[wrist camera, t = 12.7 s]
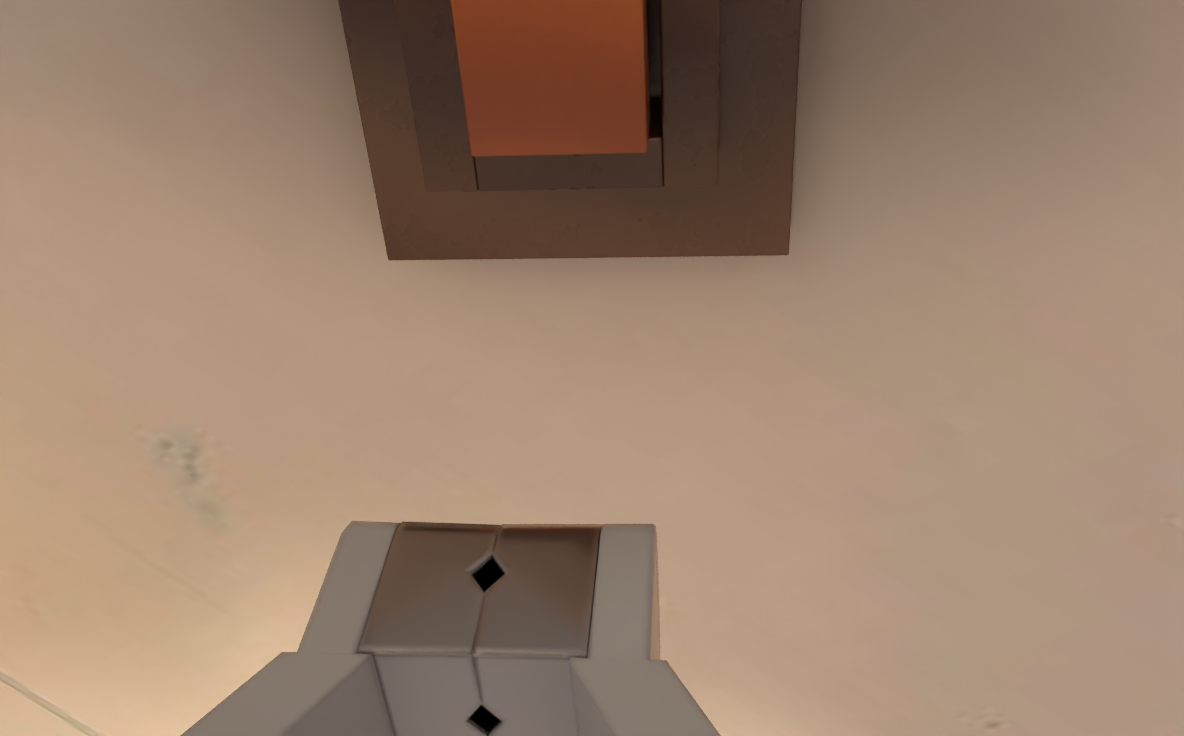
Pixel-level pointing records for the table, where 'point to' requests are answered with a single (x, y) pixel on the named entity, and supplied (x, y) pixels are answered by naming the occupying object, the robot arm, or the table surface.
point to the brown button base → (586, 181)
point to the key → (554, 76)
